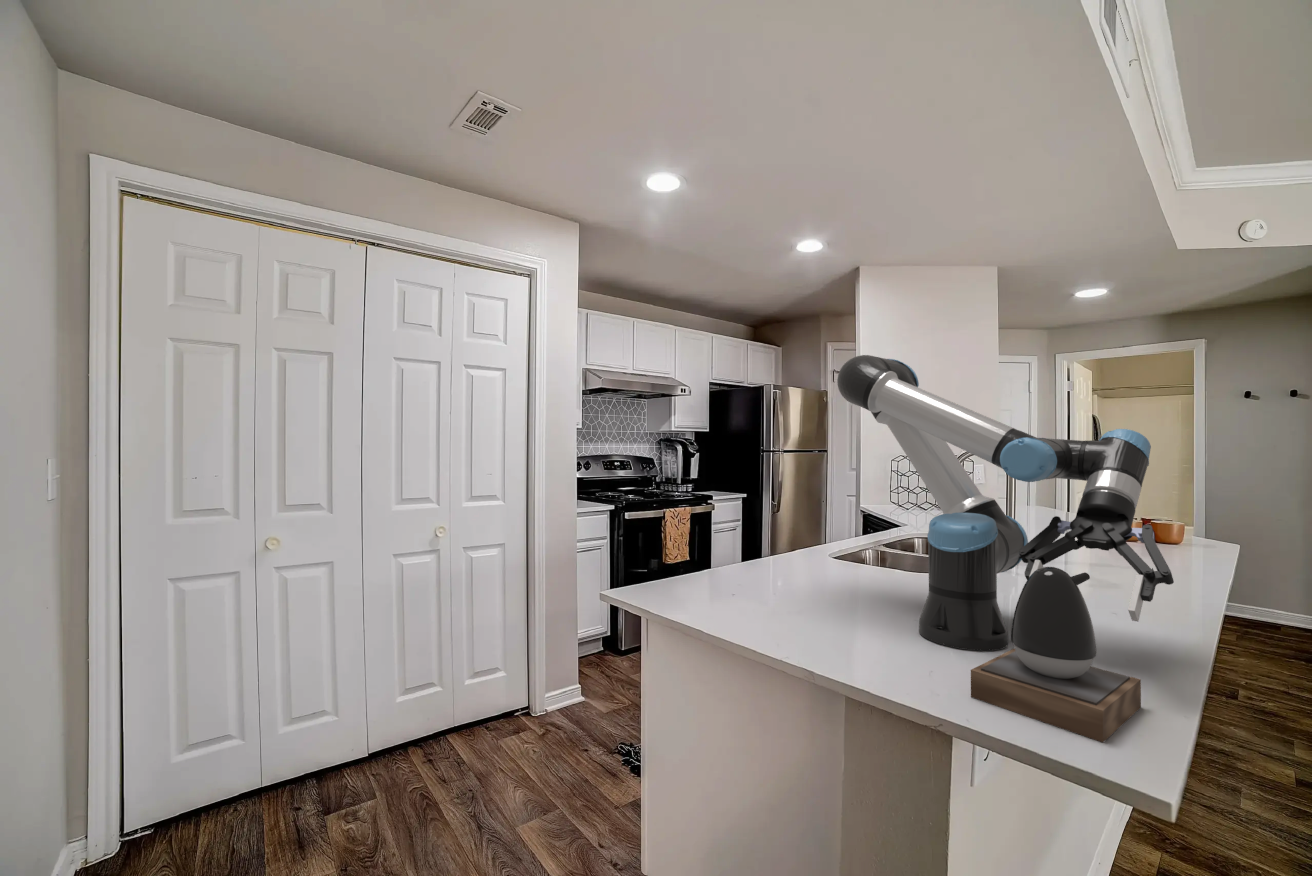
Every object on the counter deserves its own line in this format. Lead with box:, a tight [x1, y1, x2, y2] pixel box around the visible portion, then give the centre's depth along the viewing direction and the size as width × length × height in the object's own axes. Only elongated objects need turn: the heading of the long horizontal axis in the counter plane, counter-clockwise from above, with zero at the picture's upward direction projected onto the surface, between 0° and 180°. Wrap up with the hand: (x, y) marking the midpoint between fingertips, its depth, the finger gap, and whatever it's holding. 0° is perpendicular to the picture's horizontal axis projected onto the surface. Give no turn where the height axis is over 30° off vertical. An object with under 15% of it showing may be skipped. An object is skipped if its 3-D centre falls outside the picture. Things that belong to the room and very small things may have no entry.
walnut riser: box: [970, 647, 1142, 743], centre depth 83 cm, size 16×16×4 cm
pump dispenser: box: [1010, 566, 1097, 679], centre depth 83 cm, size 10×10×15 cm
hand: (1078, 605), depth 90 cm, fingers open, 13 cm apart
